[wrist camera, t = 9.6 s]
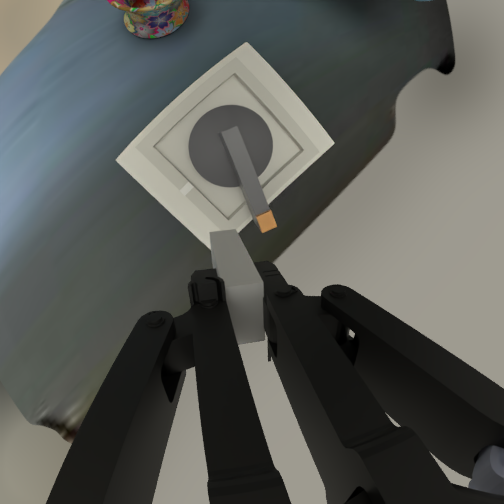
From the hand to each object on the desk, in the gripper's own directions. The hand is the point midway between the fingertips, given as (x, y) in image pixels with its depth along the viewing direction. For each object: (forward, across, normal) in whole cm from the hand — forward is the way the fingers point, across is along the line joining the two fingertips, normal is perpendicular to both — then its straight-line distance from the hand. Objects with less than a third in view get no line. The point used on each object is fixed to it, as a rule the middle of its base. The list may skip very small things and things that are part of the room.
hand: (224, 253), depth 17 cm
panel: (+22, +3, +6) cm, 23 cm away
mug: (+22, -6, +26) cm, 35 cm away
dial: (+20, +4, +3) cm, 21 cm away
